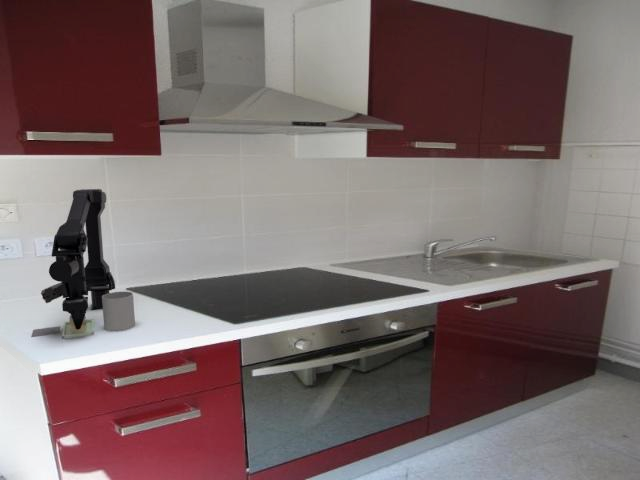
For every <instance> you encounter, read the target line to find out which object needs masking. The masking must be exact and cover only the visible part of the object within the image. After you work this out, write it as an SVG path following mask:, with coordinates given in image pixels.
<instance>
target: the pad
mask: <svg viewBox="0 0 640 480" xmlns="http://www.w3.org/2000/svg"><path fill="white" fill-rule="evenodd" d="M60 331H61V325H59V326H58V325H57V326H52V327H51V326H50V327H44V328H36V329H33V330H32V333H31V335H30V337H31V338H37V337H43V336H50V335H51V336H52V335H57V334H60Z"/></svg>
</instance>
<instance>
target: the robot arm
mask: <svg viewBox="0 0 640 480" xmlns="http://www.w3.org/2000/svg"><path fill="white" fill-rule="evenodd" d="M106 203H107V194H106V192H104V191H103V190H102V189H101V188H89V189H88V188H87V189H85V188H83V189H76V190H73V191H72V202H71V206H70V209H69V211H68V215H67V219H66V221H65V222H64V223H63V224H61V225H60V226H59V227H58V229H57V232H56V234H55V235H54V237H53V243H52V249H51V257H54V258H55V261H53V262H51V264H50V266H49V269H48V273H49V276H50V278H51V279H52V280H54V281H56V282H59V283H56V284H53V285H52V286H49V287H45V288H44V289H42V290H41V291H40V295H41V297H42V300H43V301H44V302H45V303H46V304H49V303H52V301H54V300H56V299H58V298H60V297H62V298H63V299H64V300H63V301H62V303H61V306H62V312H67V313H68V314H70V315H71V316H72V319H73V322H74V325H75V328H76V330H78V329H81V326H82V323H83V320H84V317H85V316H86V313H87V311H88V309H89V301H88V300H89V292H90V298H91V304H90V311H98V310H103V305H102V296H103V295H105V294H108V293H111V292H110V291H112V290H115V289H116V281H115V279H114V277H113V274H112V272H111V271H110V265H109V264H108V262H106V261H105V259H104V250H103V249H104V248H103V246H104V245H103V235H102V234H103V233H102V220H101V216H102V214H103V212H104V210H105V208H106ZM86 251H87V259H88V261H87V263H86V265H85V262H84V261H85V260H84V259H85V258H84V254H85V252H86Z"/></svg>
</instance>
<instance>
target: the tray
mask: <svg viewBox="0 0 640 480" xmlns="http://www.w3.org/2000/svg"><path fill="white" fill-rule="evenodd" d="M93 335H95V321H94V318H91V319H86V331H80V332H73V333H71V329H70V321H67V322H66V321H65V322H63V327H62V334H61V339H62V340H64V339H73V338H78V337H80V338H81V337H86V336H93Z"/></svg>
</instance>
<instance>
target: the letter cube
mask: <svg viewBox="0 0 640 480" xmlns="http://www.w3.org/2000/svg"><path fill="white" fill-rule="evenodd" d="M86 320H87V319H86V315H85V317H84V320H83V323H82V326H81V329H78V330H76V328H75V325H74V322H73V319H72V316H71V314H70V315H69V322H70V329H71V333H73V332H80V331H86Z"/></svg>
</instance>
